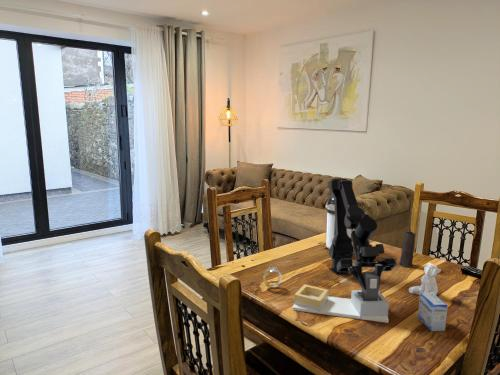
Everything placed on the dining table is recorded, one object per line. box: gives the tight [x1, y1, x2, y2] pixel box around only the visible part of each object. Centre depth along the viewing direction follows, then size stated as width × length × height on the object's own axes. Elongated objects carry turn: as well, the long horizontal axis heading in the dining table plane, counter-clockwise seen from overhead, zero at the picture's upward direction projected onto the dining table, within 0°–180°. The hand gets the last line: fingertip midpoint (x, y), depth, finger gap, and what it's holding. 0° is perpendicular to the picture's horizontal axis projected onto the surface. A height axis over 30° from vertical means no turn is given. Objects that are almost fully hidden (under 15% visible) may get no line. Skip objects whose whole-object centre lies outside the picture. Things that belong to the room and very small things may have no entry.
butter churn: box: [399, 201, 416, 268], centre depth 157 cm, size 9×10×28 cm
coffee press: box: [322, 195, 354, 251], centre depth 176 cm, size 17×16×30 cm
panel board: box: [292, 296, 389, 324], centre depth 123 cm, size 30×11×1 cm, turn 75°
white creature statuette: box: [408, 262, 442, 296], centre depth 131 cm, size 10×9×12 cm
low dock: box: [293, 283, 330, 315], centre depth 125 cm, size 9×9×4 cm
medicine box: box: [417, 293, 448, 332], centre depth 112 cm, size 8×4×9 cm, turn 5°
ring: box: [262, 266, 283, 288], centre depth 137 cm, size 7×3×8 cm, turn 89°
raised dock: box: [350, 289, 390, 320], centre depth 120 cm, size 9×9×6 cm
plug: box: [361, 271, 380, 301], centre depth 119 cm, size 5×4×9 cm
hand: (371, 289), depth 118 cm, fingers closed on plug, 4 cm apart
